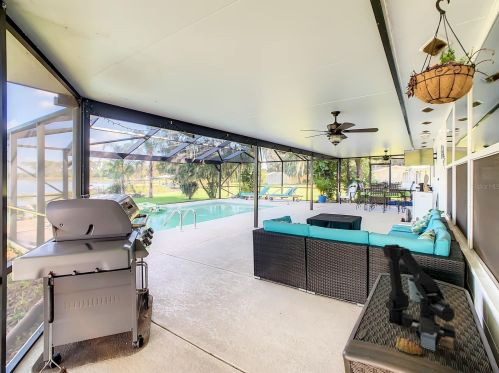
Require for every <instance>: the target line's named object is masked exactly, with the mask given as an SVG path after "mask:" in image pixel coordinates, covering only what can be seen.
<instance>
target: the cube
mask: <svg viewBox="0 0 499 373" xmlns="http://www.w3.org/2000/svg"><path fill="white" fill-rule="evenodd" d="M421 346H422V347H424V348H427V349H431V350H433V351H432V352H434V351H435V352H436V347H435V334H434V335H430V334H427V333H423V332H421V342H420V347H421ZM424 348H423V349H424ZM427 349H426V350H427ZM431 350H430V351H431Z"/></svg>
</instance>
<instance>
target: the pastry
mask: <svg viewBox="0 0 499 373" xmlns="http://www.w3.org/2000/svg"><path fill="white" fill-rule="evenodd" d="M395 348H396V349H399V350H398V351H400V350H401V351H400V352H403V351H405V352H408V353H407V354H409V353H411V354H410V355H413V354H418V355H417V356H421V355H422V353H423V348H421V346H419V345H417V344H416V343H414V342H413V341H410V340H409V339H405V338H404V337H402V338H400V337H398V336H397V338H396V344H395ZM405 352H404V353H405ZM420 354H421V355H420Z"/></svg>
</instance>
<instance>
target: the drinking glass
mask: <svg viewBox="0 0 499 373" xmlns="http://www.w3.org/2000/svg"><path fill="white" fill-rule="evenodd" d="M407 284H408V291H409V298H410V301H412V300H413V302H415V301H416V302H415V303H418V302H420V296H418V295H417V294H416V293H417V292H419V291H418V290H417V288H416V286H415V284H414V277H413V276H412V277H408V278H407Z"/></svg>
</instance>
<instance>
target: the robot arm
mask: <svg viewBox="0 0 499 373" xmlns="http://www.w3.org/2000/svg"><path fill="white" fill-rule="evenodd" d="M382 252H383V255H384V258H385V259H386V260H387V261H388V269H389V277H390V285H391V286H390V287H391V291H390V292H389V295H388V300H386V302H385V303H384V304H385V307H386V309H388V322H391V323H393V324H397V325H400V326H403V325H404V326H405V325H406V326H409V327H410V328H411V329H413V330H414V331H415V334H416V336H417V338H418V340H419V343H421V332H423V333H427V334H430V335H434V333H436V339H435V348H437V346H438V345H437V344H438V342H439V340H440V339H441V338H442V337H446V336H447V337H450V338H453V340H455V339H457V335H456V333H457V332H456V327H455V326H454V325H452V324H447V323H449V322H452V321H453V320H454V318H455V315H456V313H455V311H454V309H453V308H451V307H450V306H451V305H450V304H449V303H447V302H444V301H445V297H444V294H443V293H442V291H441V289H440V287H439V285H438V283H437V281H435V279H433V277H431V276H430V275H428V274H427V273H426V272H425V271H424V270H423V269H422V267H421V266H420V263H418V262H417V260H416V259H415V257H414V255H412V253H411V250H410V249H409V248H407V247H405V246H400V245H399V244H394V243H393V244H384V246H383V248H382ZM401 260H402V262H403V264H404V265H405V266H406V268H407V269H408V271H409V273H410V274H411V275H412V277H414V284H415V286H416V288H417V290H418V291H419V292H417V293H416V294H417V295H418V296H420V303H419V319H417V318H414V315H413V314H409V313H406V312H407V311H408V308H409V306H410V301H409V295H408V294H406V292H404V289H403V282H402V273H401V265H400V261H401ZM405 311H406V312H405ZM437 317H438V318H440V319H441V320H442V321H444V322H447V323H443V325H442V324H440V323H437Z"/></svg>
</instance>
